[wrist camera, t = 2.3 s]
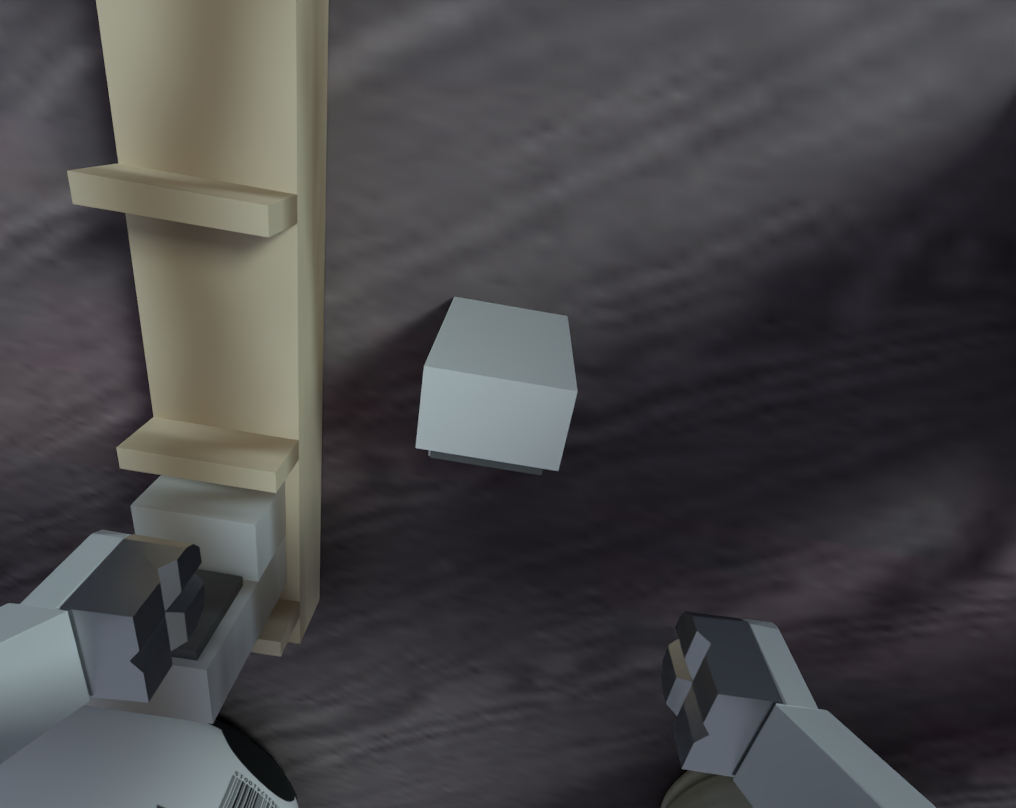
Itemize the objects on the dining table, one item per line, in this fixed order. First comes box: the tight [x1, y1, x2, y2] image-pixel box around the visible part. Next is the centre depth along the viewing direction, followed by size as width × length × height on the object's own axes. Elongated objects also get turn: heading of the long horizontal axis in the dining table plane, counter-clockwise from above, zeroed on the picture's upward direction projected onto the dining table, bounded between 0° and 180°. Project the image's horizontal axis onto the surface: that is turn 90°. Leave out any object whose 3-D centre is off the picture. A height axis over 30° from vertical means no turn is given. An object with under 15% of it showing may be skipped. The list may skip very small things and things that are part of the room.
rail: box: [67, 0, 329, 724], centre depth 17 cm, size 5×28×8 cm, turn 171°
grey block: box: [416, 297, 578, 475], centre depth 19 cm, size 4×5×6 cm
